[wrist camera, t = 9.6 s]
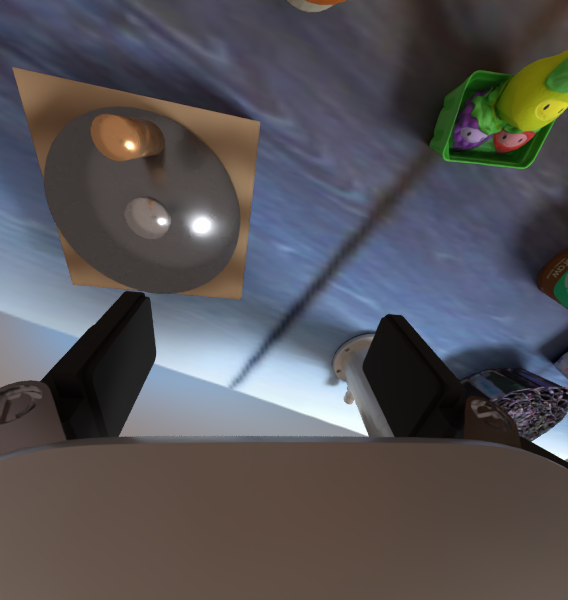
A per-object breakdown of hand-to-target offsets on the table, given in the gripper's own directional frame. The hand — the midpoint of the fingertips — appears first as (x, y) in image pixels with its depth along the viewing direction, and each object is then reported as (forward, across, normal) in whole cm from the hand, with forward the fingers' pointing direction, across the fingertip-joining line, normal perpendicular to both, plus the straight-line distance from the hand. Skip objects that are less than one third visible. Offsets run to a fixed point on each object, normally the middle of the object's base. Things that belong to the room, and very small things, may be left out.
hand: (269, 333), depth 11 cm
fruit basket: (+27, -24, -13) cm, 39 cm away
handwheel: (+21, +11, +1) cm, 24 cm away
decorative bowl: (+30, -58, +37) cm, 75 cm away
